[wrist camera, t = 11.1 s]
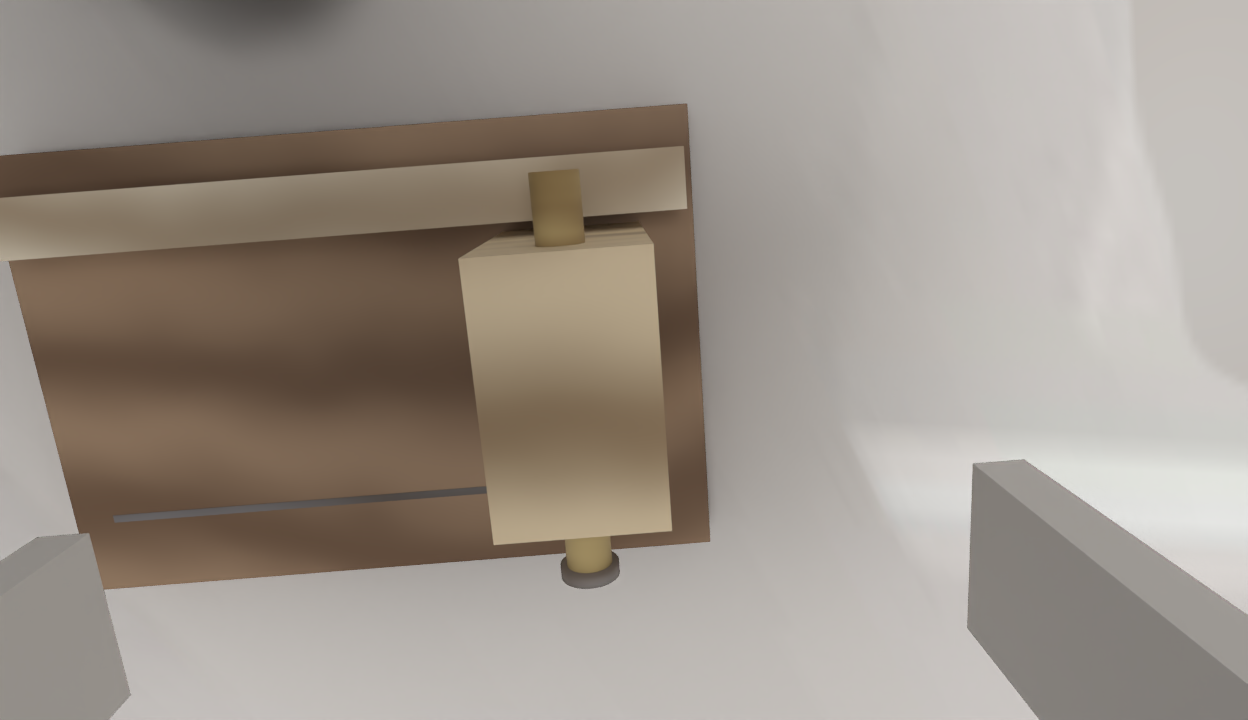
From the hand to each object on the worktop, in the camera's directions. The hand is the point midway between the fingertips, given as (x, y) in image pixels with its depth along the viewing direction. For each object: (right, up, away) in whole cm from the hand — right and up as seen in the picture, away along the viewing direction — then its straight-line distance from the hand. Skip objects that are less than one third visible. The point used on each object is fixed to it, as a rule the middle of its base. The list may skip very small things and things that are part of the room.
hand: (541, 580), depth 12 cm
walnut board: (-8, +4, +20) cm, 22 cm away
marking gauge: (0, +4, +18) cm, 19 cm away
